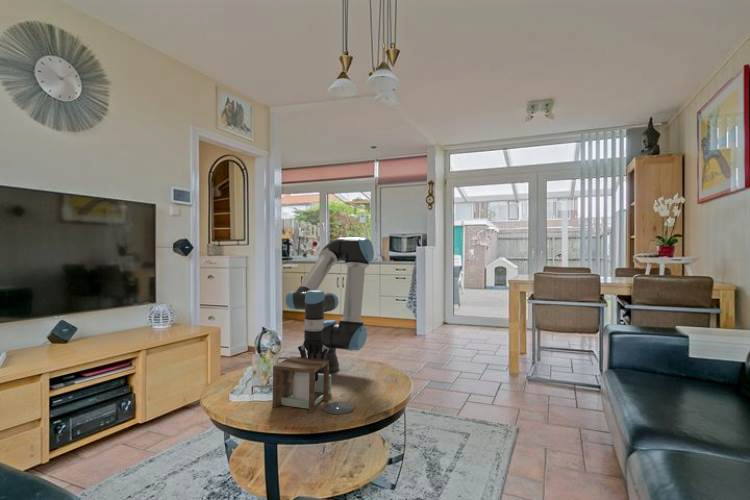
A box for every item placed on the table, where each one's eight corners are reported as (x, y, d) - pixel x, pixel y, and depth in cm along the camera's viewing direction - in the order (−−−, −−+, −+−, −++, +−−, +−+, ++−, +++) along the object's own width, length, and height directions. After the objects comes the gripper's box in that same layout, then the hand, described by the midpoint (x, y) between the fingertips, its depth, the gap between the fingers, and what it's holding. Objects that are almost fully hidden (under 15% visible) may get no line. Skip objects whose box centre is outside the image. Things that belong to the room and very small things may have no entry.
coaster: (330, 401, 157) (330, 400, 157) (357, 405, 154) (357, 403, 154) (318, 412, 146) (318, 410, 146) (347, 416, 143) (347, 414, 143)
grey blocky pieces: (304, 388, 171) (305, 371, 171) (332, 391, 167) (332, 374, 167) (280, 404, 152) (280, 385, 152) (310, 408, 148) (311, 389, 148)
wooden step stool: (291, 394, 164) (291, 356, 164) (328, 399, 159) (329, 360, 159) (272, 407, 150) (273, 365, 150) (312, 413, 145) (313, 369, 146)
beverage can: (310, 406, 152) (310, 373, 152) (289, 404, 153) (289, 372, 153) (317, 398, 160) (318, 367, 160) (297, 397, 161) (298, 366, 161)
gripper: (294, 329, 163) (293, 390, 162) (325, 332, 159) (324, 394, 158) (303, 326, 170) (302, 384, 169) (332, 329, 166) (331, 388, 166)
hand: (312, 389), depth 164 cm, fingers closed
